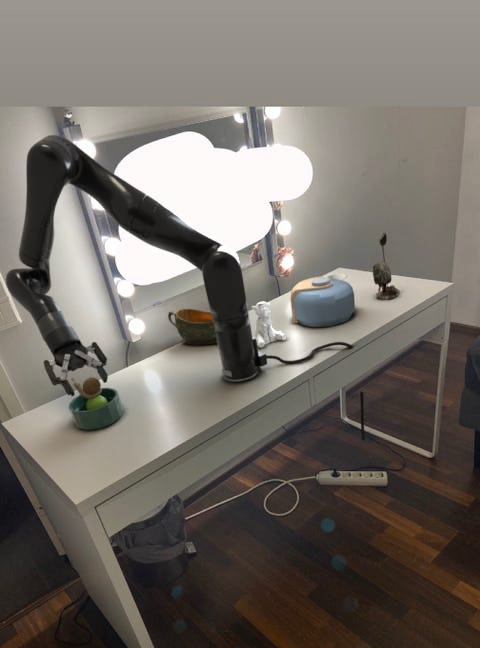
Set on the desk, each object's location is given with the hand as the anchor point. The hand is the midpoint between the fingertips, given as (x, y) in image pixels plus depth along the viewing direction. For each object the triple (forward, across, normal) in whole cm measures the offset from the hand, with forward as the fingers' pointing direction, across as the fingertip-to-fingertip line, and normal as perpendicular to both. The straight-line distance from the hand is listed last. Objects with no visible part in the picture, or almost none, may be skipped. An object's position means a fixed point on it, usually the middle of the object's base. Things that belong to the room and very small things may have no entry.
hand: (89, 387), depth 120 cm
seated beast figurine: (+5, +56, +8) cm, 57 cm away
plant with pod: (+9, +103, +4) cm, 103 cm away
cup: (-9, +45, +22) cm, 51 cm away
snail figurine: (+6, 0, +7) cm, 9 cm away
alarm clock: (+6, +79, +8) cm, 80 cm away
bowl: (+6, 0, +7) cm, 9 cm away
